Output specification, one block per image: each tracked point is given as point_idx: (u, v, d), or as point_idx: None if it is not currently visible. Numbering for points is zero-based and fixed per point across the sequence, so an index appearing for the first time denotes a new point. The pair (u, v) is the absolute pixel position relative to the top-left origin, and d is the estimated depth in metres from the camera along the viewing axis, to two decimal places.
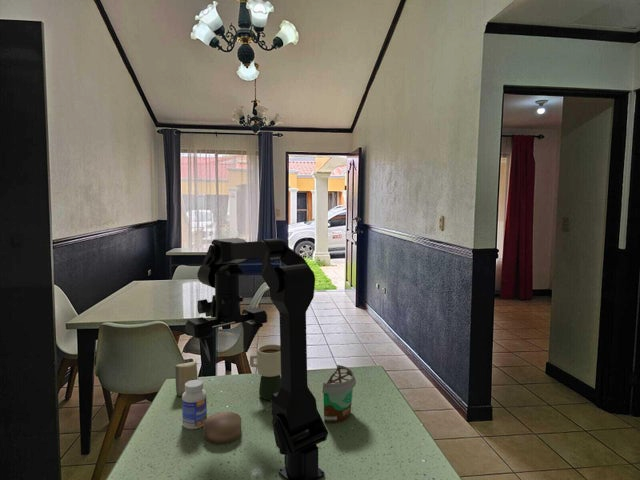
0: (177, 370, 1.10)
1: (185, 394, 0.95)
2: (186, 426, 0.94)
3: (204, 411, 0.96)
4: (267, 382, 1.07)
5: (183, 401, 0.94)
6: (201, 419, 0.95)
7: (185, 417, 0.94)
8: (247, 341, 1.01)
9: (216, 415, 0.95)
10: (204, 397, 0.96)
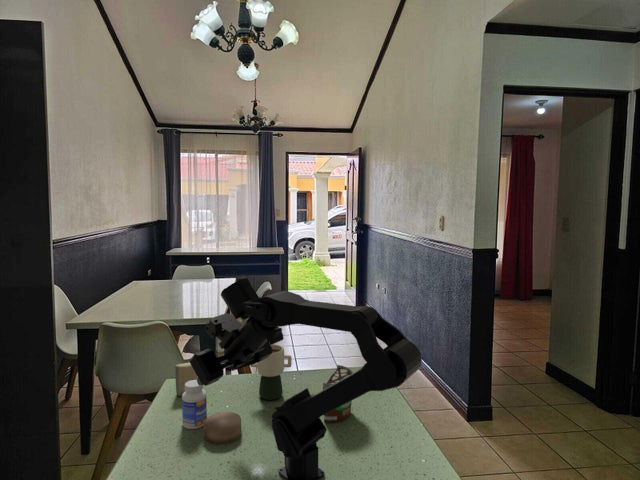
0: (177, 370, 1.10)
1: (185, 394, 0.95)
2: (186, 426, 0.94)
3: (204, 411, 0.96)
4: (267, 382, 1.07)
5: (183, 401, 0.94)
6: (201, 419, 0.95)
7: (185, 417, 0.94)
8: (239, 365, 0.93)
9: (216, 415, 0.95)
10: (204, 397, 0.96)
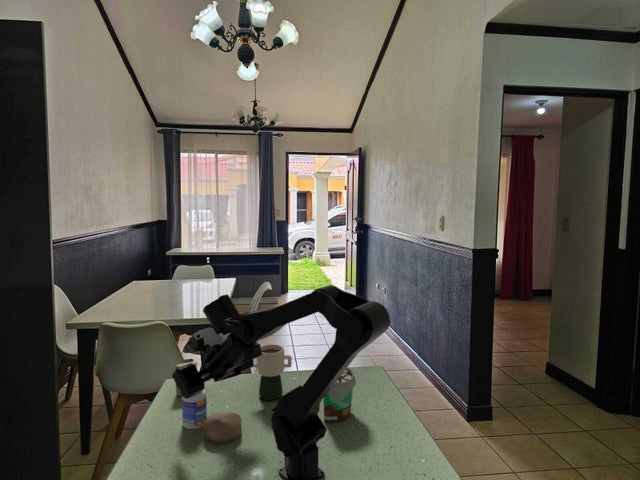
0: None
1: None
2: (186, 426, 0.94)
3: (204, 411, 0.96)
4: (267, 382, 1.07)
5: (183, 401, 0.94)
6: (201, 419, 0.95)
7: (185, 417, 0.94)
8: None
9: (216, 415, 0.95)
10: (204, 397, 0.96)
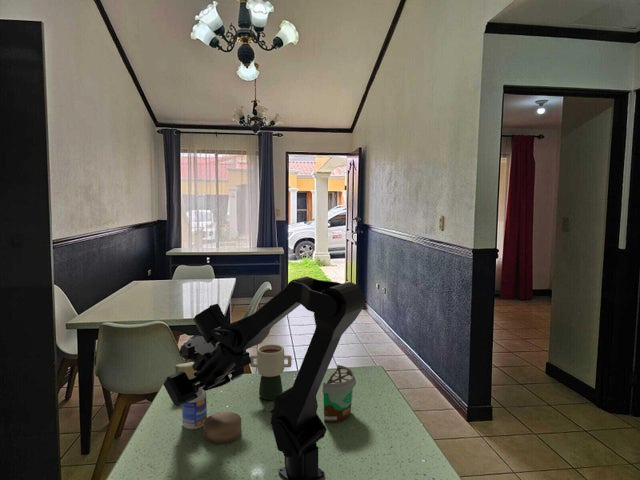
0: (177, 370, 1.10)
1: None
2: (186, 426, 0.94)
3: (204, 411, 0.96)
4: (267, 382, 1.07)
5: None
6: (201, 419, 0.95)
7: (185, 417, 0.94)
8: (207, 387, 0.98)
9: (216, 415, 0.95)
10: (204, 397, 0.96)
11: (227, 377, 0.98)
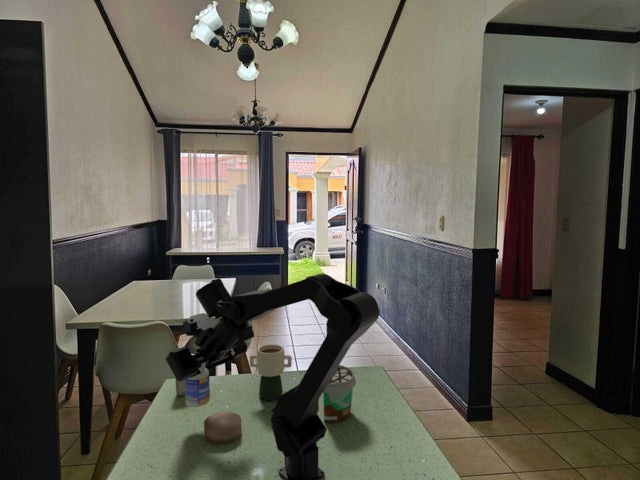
0: None
1: None
2: (189, 404, 0.93)
3: (207, 389, 0.95)
4: (267, 382, 1.07)
5: (186, 379, 0.93)
6: (204, 397, 0.94)
7: (187, 394, 0.93)
8: (210, 365, 0.97)
9: (216, 415, 0.95)
10: (207, 375, 0.94)
11: (230, 355, 0.97)
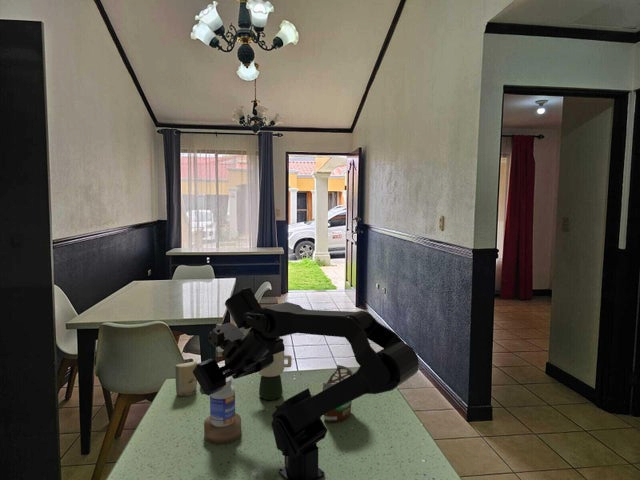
0: (177, 370, 1.10)
1: None
2: (214, 424, 0.90)
3: (233, 408, 0.91)
4: (267, 382, 1.07)
5: (212, 398, 0.90)
6: (229, 417, 0.90)
7: (213, 414, 0.90)
8: None
9: None
10: (233, 393, 0.91)
11: (261, 363, 0.95)
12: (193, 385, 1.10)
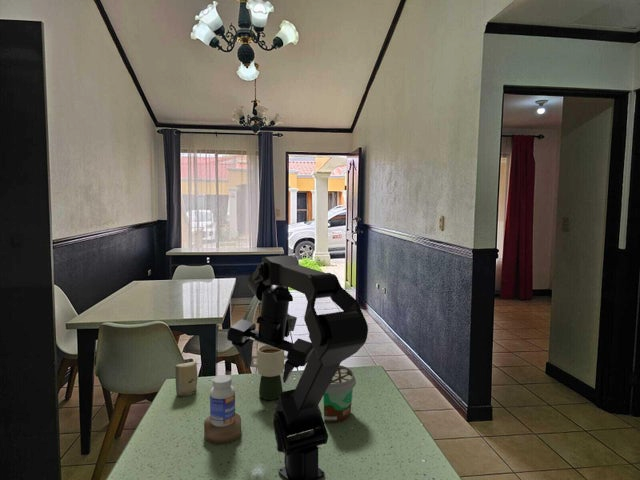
0: (177, 370, 1.10)
1: (213, 390, 0.90)
2: (214, 424, 0.90)
3: (233, 408, 0.91)
4: (267, 382, 1.07)
5: (212, 398, 0.90)
6: (229, 417, 0.90)
7: (213, 414, 0.90)
8: None
9: None
10: (233, 393, 0.91)
11: None
12: (193, 385, 1.10)
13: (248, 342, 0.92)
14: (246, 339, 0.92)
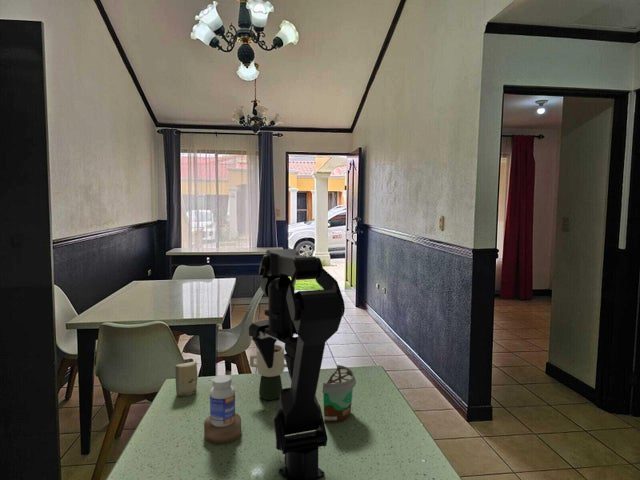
0: (177, 370, 1.10)
1: (213, 390, 0.90)
2: (214, 424, 0.90)
3: (233, 408, 0.91)
4: (267, 382, 1.07)
5: (211, 398, 0.90)
6: (229, 417, 0.90)
7: (213, 414, 0.90)
8: None
9: None
10: (233, 393, 0.91)
11: None
12: (193, 385, 1.10)
13: (267, 340, 0.96)
14: (264, 336, 0.96)
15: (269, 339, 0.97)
